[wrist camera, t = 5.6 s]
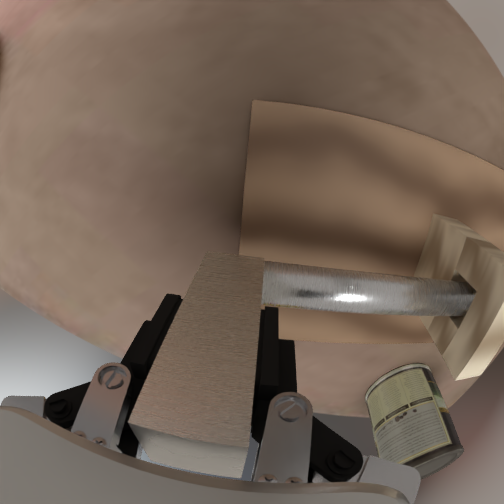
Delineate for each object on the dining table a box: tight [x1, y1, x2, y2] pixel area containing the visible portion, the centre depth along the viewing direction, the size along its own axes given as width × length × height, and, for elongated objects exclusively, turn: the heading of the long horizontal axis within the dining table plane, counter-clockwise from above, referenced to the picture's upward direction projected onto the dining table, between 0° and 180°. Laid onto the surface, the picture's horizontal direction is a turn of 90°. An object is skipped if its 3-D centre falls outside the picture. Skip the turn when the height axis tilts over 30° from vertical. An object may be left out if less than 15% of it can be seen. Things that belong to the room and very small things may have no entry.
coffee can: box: [365, 363, 464, 479], centre depth 24 cm, size 10×10×14 cm
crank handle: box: [128, 251, 477, 478], centre depth 11 cm, size 18×3×11 cm, turn 85°
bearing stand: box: [239, 100, 504, 380], centre depth 16 cm, size 20×31×12 cm, turn 85°
